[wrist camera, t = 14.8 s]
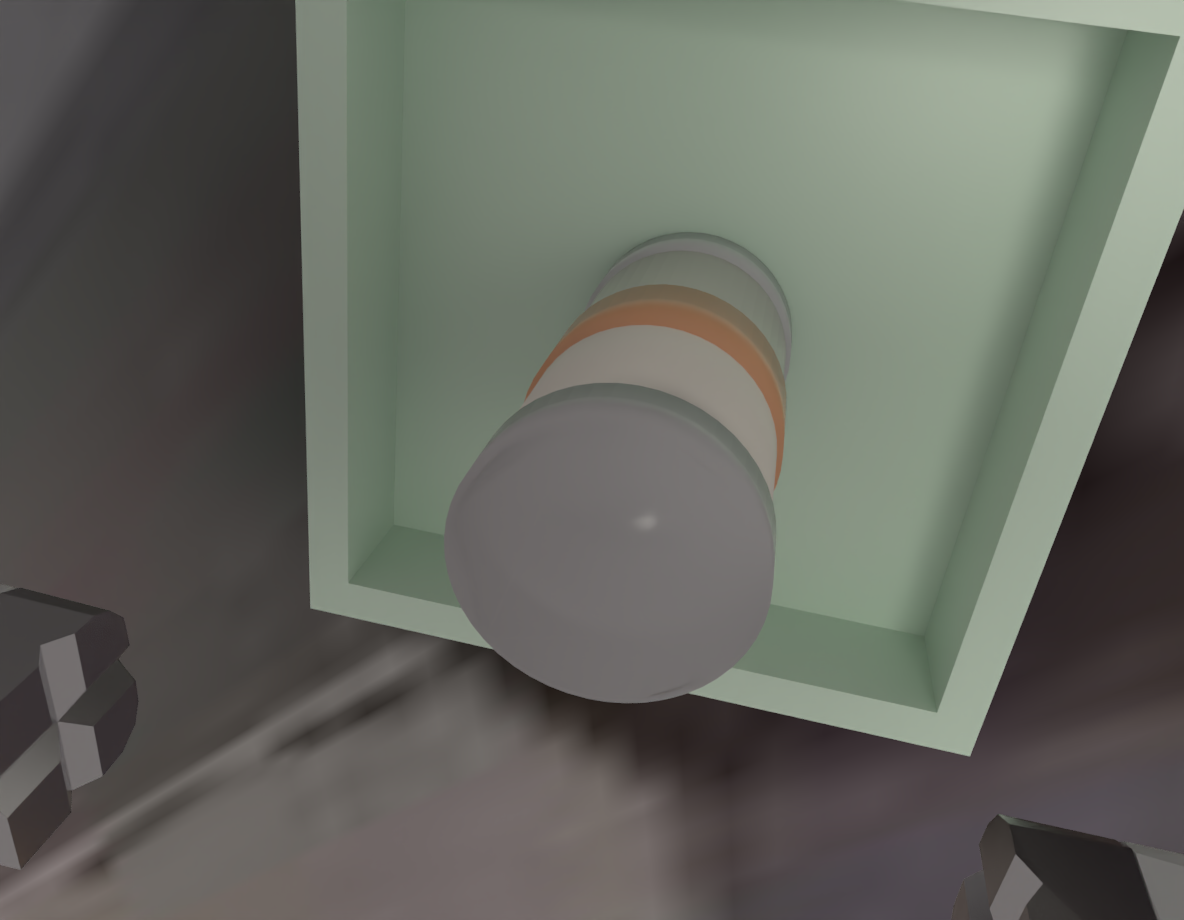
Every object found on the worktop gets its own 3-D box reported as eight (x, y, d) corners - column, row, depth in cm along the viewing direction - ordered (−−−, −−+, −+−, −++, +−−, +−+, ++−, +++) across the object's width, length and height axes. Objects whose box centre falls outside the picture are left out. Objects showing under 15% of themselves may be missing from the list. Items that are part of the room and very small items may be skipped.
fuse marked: (601, 217, 21) (449, 388, 13) (811, 249, 21) (805, 454, 12) (580, 406, 24) (439, 664, 15) (770, 441, 23) (740, 733, 14)
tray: (372, -124, 20) (292, -143, 17) (1195, -25, 18) (1275, -26, 15) (367, 537, 27) (310, 608, 24) (950, 662, 25) (969, 756, 22)
